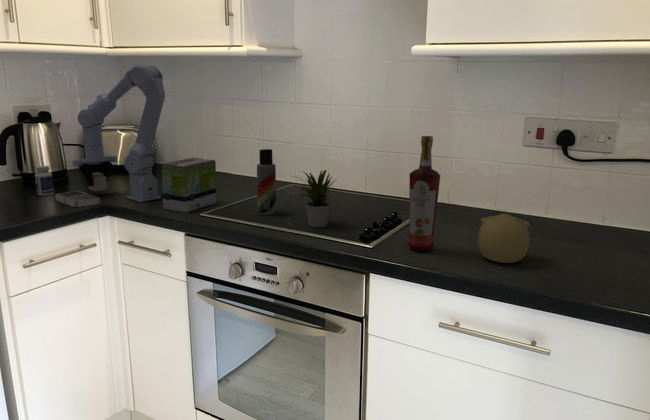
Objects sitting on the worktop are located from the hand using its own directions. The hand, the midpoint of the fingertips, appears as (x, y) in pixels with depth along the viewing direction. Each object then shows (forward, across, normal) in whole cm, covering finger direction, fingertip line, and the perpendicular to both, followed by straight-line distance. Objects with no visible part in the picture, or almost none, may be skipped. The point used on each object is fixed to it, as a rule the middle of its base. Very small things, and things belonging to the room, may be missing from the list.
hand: (97, 184), depth 182 cm
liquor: (+5, -27, +112) cm, 115 cm away
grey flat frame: (+4, +9, +4) cm, 11 cm away
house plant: (+4, -26, +78) cm, 82 cm away
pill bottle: (+4, +12, -15) cm, 19 cm away
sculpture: (+5, -34, +130) cm, 134 cm away
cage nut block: (+2, 0, 0) cm, 2 cm away
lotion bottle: (+4, -24, +59) cm, 64 cm away
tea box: (+4, -13, +35) cm, 38 cm away
